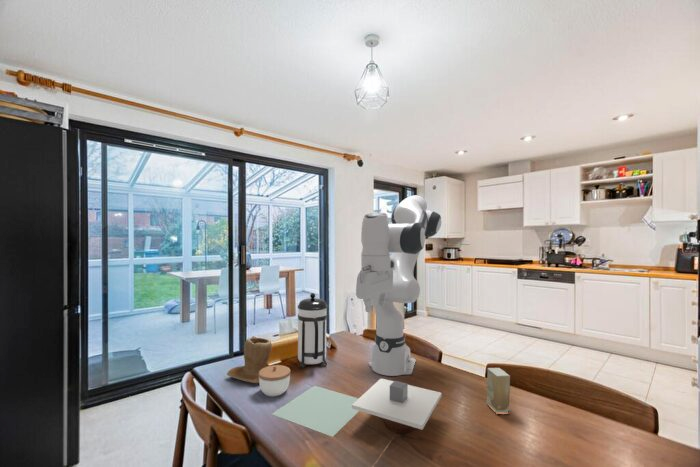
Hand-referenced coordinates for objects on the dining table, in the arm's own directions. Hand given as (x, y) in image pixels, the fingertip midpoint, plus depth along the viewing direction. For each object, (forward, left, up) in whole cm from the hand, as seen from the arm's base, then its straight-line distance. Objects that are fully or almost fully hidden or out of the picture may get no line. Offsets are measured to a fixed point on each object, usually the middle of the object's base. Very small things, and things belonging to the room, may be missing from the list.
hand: (375, 308), depth 101 cm
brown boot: (+2, -51, -32) cm, 60 cm away
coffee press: (-21, -39, -32) cm, 55 cm away
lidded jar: (+7, -35, -32) cm, 48 cm away
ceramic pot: (+3, +9, -33) cm, 34 cm away
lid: (+3, +9, -26) cm, 27 cm away
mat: (+7, -15, -32) cm, 36 cm away
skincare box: (-21, +33, -32) cm, 51 cm away
